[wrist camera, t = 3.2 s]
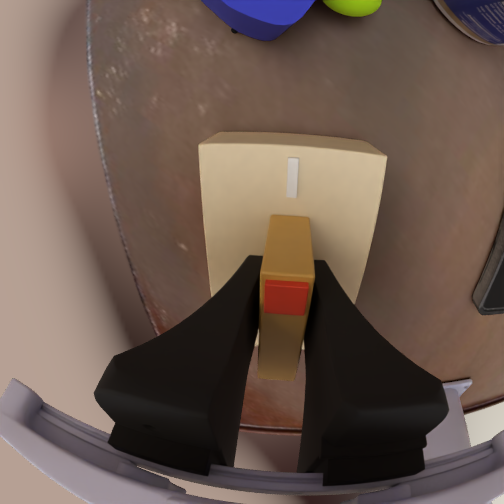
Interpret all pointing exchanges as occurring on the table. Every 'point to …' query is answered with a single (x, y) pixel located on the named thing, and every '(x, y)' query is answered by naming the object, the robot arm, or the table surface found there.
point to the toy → (278, 14)
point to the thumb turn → (284, 296)
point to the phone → (492, 280)
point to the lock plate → (289, 198)
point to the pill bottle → (476, 18)
